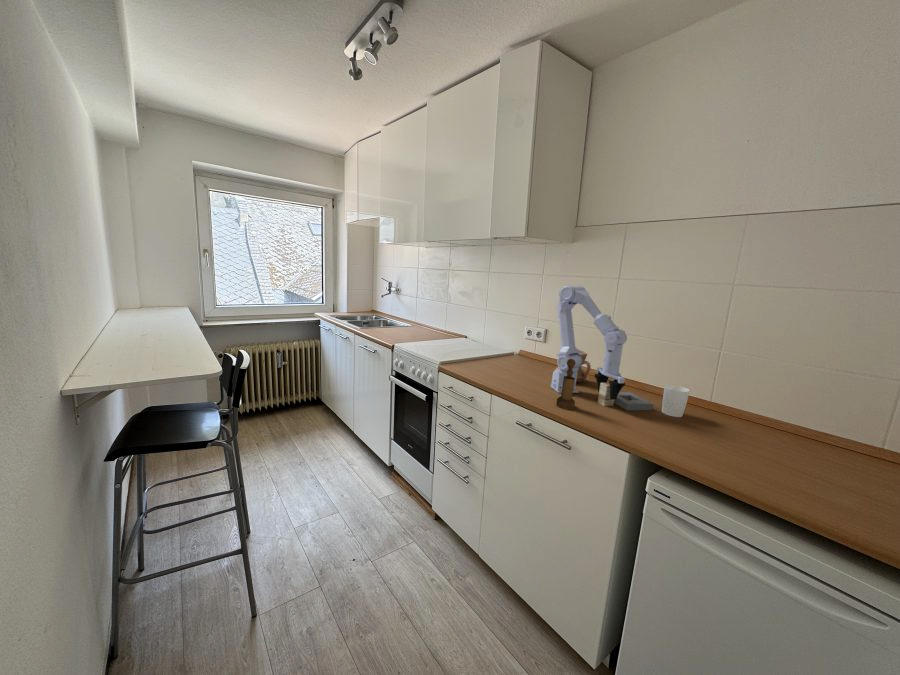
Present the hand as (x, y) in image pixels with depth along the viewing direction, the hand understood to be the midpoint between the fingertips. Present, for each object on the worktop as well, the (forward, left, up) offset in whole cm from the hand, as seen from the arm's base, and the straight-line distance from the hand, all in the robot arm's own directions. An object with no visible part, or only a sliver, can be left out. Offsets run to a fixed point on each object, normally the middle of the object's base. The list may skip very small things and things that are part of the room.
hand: (606, 395), depth 138 cm
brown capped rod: (-18, -2, -4) cm, 18 cm away
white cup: (+21, -10, -4) cm, 24 cm away
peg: (0, 0, -4) cm, 4 cm away
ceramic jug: (+2, +30, -4) cm, 30 cm away
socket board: (+10, 0, -3) cm, 11 cm away
